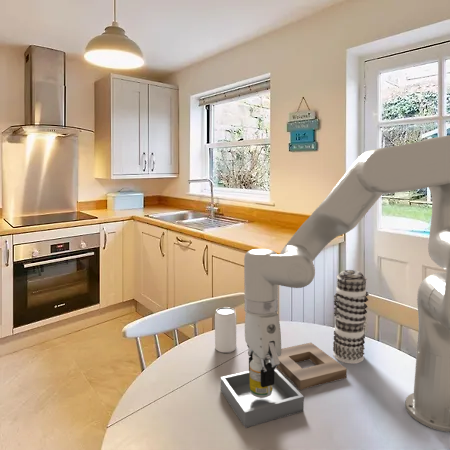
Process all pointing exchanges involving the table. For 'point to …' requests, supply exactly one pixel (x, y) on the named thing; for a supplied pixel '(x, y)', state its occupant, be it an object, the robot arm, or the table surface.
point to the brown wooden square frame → (313, 375)
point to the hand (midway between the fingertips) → (261, 377)
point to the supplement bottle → (258, 378)
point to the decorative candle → (350, 316)
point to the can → (225, 330)
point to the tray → (261, 399)
